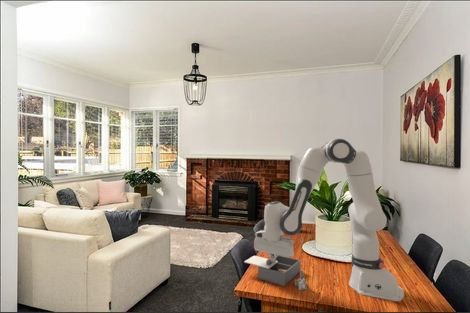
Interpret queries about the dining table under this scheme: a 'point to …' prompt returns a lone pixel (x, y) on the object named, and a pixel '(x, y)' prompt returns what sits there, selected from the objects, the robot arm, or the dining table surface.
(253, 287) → the dining table surface
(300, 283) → the house of cards
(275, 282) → the box
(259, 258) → the sliding lid
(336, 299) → the dining table surface
